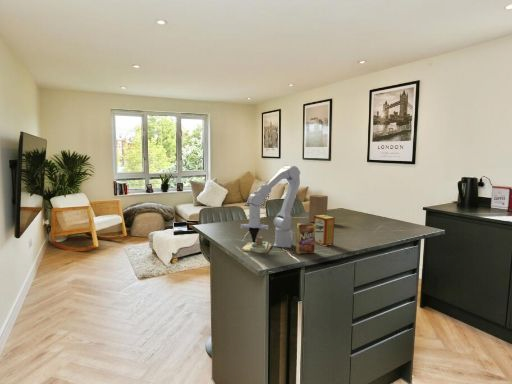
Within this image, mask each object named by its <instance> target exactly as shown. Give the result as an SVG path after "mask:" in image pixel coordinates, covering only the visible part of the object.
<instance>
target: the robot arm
mask: <svg viewBox="0 0 512 384" xmlns="http://www.w3.org/2000/svg"><path fill="white" fill-rule="evenodd" d="M300 175H301V171H300V169H299V168H298V167H297V166H296V165H286V164H285V165H283V166H282V167H281V168H280V169H278V171H277V172H276V174H274V175H273V177H272V178H271V179H270V180H269V181H268V182H267V183H263V184H260V185H259V187H258V189H257V190H254V191H253V193H251V194H249V196H248V198H247V202H248V205H249V207H248V213H249V214H248V215H249V216H248V223H240V229H248V232H249V234H250V237H251V240H252V242H255V241H256V238H257V237H258V233H259V232H260V229H261V230H268V229H269V225H268V224H261V205H262V204H263V201H264V200H265V198H267V196H268V195H270V193H271V192H272V189H273V187H275V185H277V184H279V182H281V181H282V180H283V179H286V180H287V182H288V187H287V190H286V193H285V197H284V200H283V202H282V205H281V209H280V211H279V212H278V213H277V215H276V216H275V217H274V219H273V226H274V227H275V233H274V235H275V236H274V244H272V247H276V248H278V247H280V248H292V246H293V230H291V229H290V228H291V227H292V219H293V218H292V216H291V212H292V209H293V207H294V203H295V200H296V196H297V194H298V190H299V188H300V184H301V180H300Z"/></svg>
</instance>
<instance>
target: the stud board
mask: <svg viewBox="0 0 512 384" xmlns="http://www.w3.org/2000/svg"><path fill="white" fill-rule="evenodd" d="M255 243H256V241H255ZM255 243H253V244H252V242H250V241H249V242H246V244H245V245H244V246H243V247H242V248H241V249H240V250H241V252H251V253H261V254H268V252H269V251H270V250H271V248H272V247H273V244H271V243H268V246H267V250H266V251H263V250H250V247H251V244H252V246H253V247H256V244H255ZM257 248H260V247H257Z"/></svg>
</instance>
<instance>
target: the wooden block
mask: <svg viewBox="0 0 512 384" xmlns="http://www.w3.org/2000/svg"><path fill="white" fill-rule="evenodd" d="M328 200H329V197H328V195H324V194H323V195H322V194H312V195H309V202H308V203H309V204H308V205H309V206H308V223H311V222H314V216H317V215H327V216H328V203H329V201H328Z"/></svg>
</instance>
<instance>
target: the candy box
mask: <svg viewBox="0 0 512 384" xmlns="http://www.w3.org/2000/svg"><path fill="white" fill-rule="evenodd" d="M296 226H297V227H296V245H295V252H296V254H297V255H298V254H301V253H314V254H315V244H316V243H315V230H316V225H315V224H314V223H311V222H308V223H307V222H303V223H302V222H297V225H296Z"/></svg>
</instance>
